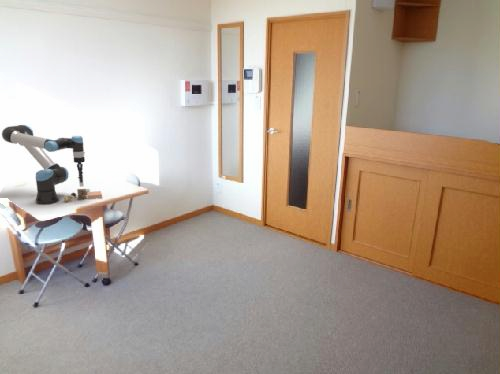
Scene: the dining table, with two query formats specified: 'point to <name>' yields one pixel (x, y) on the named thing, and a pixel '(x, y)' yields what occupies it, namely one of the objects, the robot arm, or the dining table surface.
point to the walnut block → (81, 194)
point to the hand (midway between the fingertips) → (81, 184)
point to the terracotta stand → (94, 195)
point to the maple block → (69, 198)
